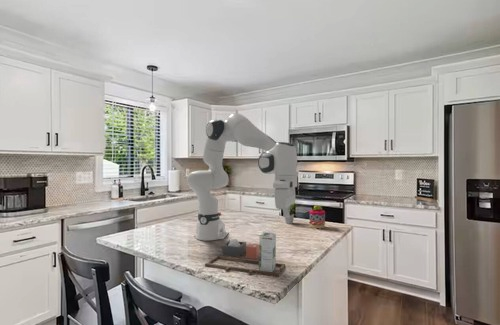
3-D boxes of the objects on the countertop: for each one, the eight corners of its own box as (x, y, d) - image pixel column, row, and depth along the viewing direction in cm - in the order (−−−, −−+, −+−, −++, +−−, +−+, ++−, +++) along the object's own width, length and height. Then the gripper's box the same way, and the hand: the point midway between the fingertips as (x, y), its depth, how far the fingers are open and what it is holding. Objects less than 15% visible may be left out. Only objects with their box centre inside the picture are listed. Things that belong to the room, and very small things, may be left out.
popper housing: (229, 249, 142) (229, 240, 142) (246, 251, 139) (246, 242, 139) (221, 254, 133) (221, 245, 133) (239, 257, 130) (239, 247, 130)
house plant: (293, 226, 190) (293, 202, 190) (275, 224, 197) (275, 200, 197) (302, 222, 202) (302, 200, 202) (284, 220, 209) (284, 198, 209)
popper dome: (231, 247, 140) (231, 237, 140) (242, 248, 138) (242, 238, 138) (225, 250, 134) (225, 240, 134) (237, 252, 132) (237, 241, 132)
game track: (218, 256, 132) (218, 254, 132) (286, 264, 120) (286, 262, 120) (202, 267, 118) (202, 265, 118) (277, 278, 106) (277, 276, 106)
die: (249, 253, 135) (249, 242, 135) (259, 255, 133) (259, 243, 133) (246, 257, 130) (246, 245, 130) (256, 258, 128) (256, 246, 128)
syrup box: (262, 266, 119) (262, 232, 119) (276, 267, 117) (276, 233, 117) (258, 271, 114) (258, 235, 114) (273, 273, 112) (273, 236, 112)
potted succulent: (306, 226, 191) (306, 204, 191) (318, 224, 196) (318, 203, 196) (315, 229, 182) (315, 206, 182) (328, 228, 186) (328, 205, 186)
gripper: (284, 180, 124) (284, 212, 123) (271, 184, 104) (272, 221, 104) (298, 181, 121) (299, 213, 121) (288, 184, 102) (288, 222, 102)
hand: (286, 217), depth 113 cm, fingers closed
